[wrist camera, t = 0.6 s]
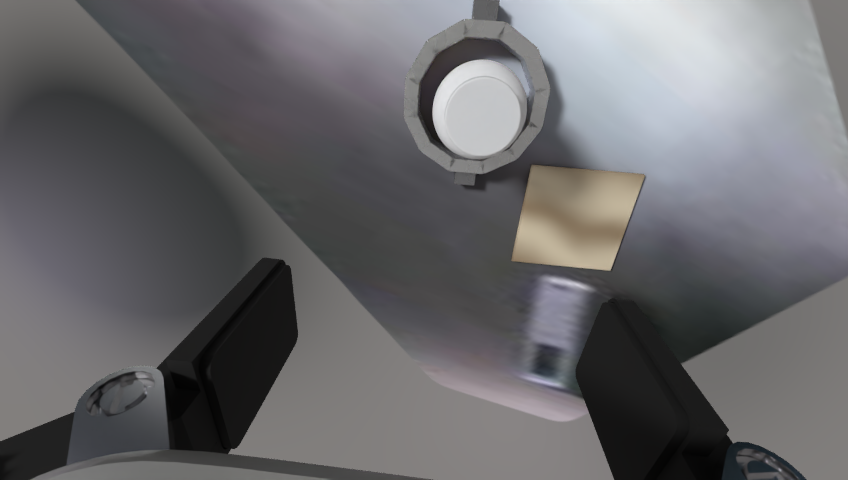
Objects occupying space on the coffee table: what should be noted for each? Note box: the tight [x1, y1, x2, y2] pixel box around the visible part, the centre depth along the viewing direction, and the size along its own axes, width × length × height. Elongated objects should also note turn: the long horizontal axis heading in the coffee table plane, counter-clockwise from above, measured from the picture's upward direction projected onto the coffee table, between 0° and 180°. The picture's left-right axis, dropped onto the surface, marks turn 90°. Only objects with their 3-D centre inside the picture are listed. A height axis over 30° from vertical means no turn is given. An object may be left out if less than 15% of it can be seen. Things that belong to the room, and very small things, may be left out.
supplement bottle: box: [432, 60, 527, 159], centre depth 27 cm, size 7×7×13 cm
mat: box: [512, 165, 645, 271], centre depth 37 cm, size 11×11×1 cm
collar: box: [404, 0, 550, 186], centre depth 32 cm, size 15×12×2 cm
